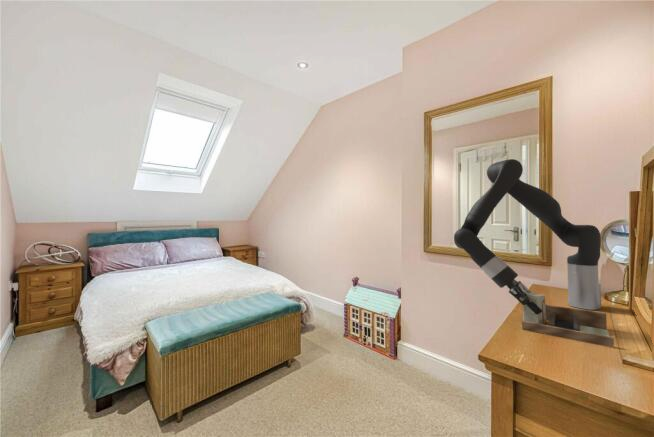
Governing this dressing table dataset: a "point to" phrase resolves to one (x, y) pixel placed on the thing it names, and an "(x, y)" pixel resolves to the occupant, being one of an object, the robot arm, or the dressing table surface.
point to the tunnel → (574, 325)
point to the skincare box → (530, 315)
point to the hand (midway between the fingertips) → (540, 310)
